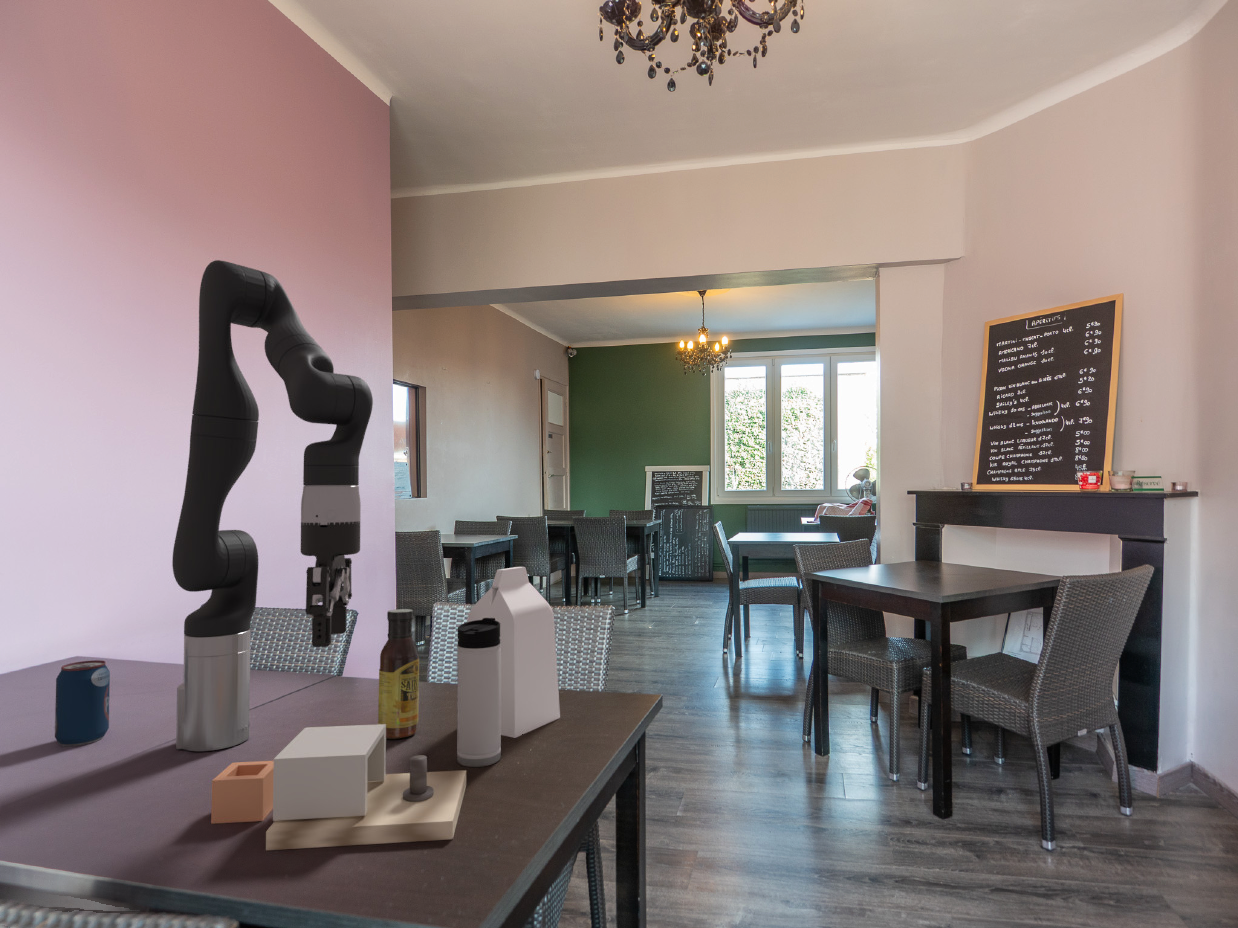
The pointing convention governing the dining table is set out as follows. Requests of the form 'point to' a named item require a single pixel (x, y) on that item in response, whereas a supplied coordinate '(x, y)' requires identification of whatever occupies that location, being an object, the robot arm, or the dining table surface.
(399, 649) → the sauce bottle
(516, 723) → the milk
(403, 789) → the board
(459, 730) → the travel mug
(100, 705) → the soda can
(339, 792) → the cover
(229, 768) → the ring block
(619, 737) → the dining table surface
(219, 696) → the robot arm
